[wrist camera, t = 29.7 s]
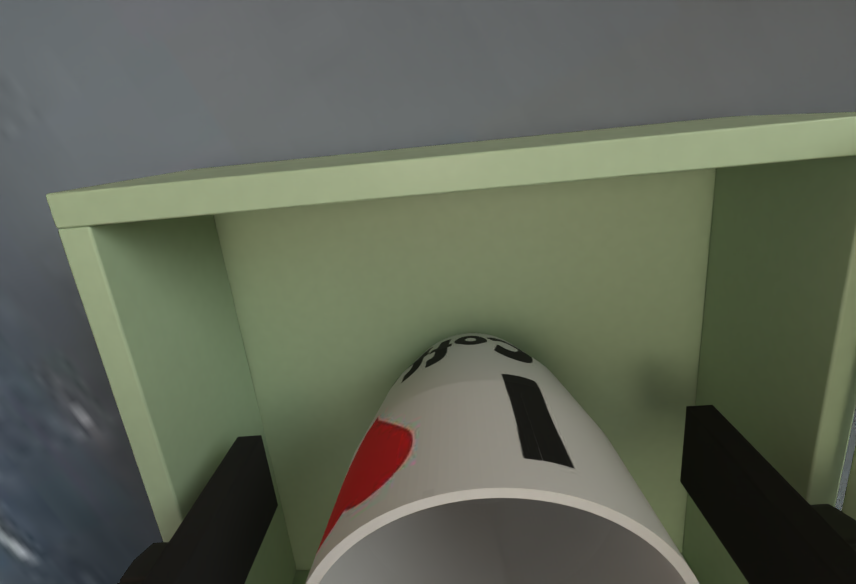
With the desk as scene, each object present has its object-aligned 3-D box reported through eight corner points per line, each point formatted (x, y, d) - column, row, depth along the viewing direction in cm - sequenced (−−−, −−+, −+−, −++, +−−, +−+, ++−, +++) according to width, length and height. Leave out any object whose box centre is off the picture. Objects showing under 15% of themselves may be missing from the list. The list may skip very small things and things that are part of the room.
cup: (544, 264, 17) (664, 432, 8) (601, 448, 20) (746, 748, 10) (335, 335, 18) (218, 555, 9) (412, 500, 21) (384, 814, 11)
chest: (288, 569, 23) (228, 738, 17) (192, 169, 17) (43, 194, 11) (690, 551, 22) (791, 725, 16) (731, 116, 16) (919, 109, 10)
